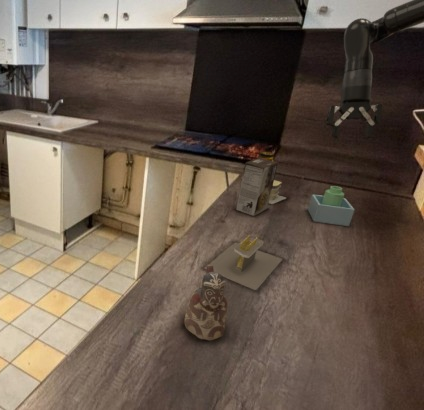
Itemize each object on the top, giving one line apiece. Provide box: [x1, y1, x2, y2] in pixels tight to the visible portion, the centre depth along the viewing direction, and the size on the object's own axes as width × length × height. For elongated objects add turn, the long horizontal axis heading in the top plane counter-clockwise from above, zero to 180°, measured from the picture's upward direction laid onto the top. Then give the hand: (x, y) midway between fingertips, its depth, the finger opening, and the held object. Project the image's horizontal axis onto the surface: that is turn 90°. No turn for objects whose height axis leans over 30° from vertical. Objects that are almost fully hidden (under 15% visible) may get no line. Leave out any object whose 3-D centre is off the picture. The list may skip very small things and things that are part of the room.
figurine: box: [184, 264, 228, 341], centre depth 64 cm, size 7×7×12 cm
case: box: [307, 194, 356, 227], centre depth 111 cm, size 9×9×6 cm
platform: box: [204, 235, 283, 292], centre depth 85 cm, size 12×18×7 cm, turn 136°
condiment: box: [257, 151, 275, 161], centre depth 139 cm, size 7×8×12 cm
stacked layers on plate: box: [269, 179, 287, 205], centre depth 126 cm, size 10×9×6 cm
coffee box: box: [236, 157, 279, 217], centre depth 113 cm, size 9×6×16 cm
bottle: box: [321, 185, 345, 207], centre depth 110 cm, size 5×5×10 cm
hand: (351, 138), depth 116 cm, fingers open, 8 cm apart
